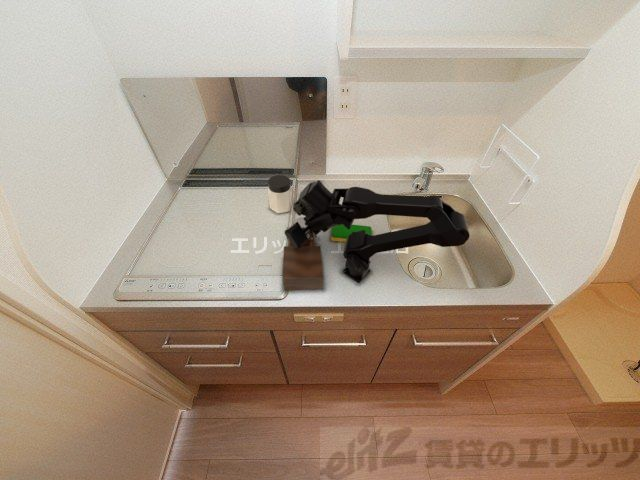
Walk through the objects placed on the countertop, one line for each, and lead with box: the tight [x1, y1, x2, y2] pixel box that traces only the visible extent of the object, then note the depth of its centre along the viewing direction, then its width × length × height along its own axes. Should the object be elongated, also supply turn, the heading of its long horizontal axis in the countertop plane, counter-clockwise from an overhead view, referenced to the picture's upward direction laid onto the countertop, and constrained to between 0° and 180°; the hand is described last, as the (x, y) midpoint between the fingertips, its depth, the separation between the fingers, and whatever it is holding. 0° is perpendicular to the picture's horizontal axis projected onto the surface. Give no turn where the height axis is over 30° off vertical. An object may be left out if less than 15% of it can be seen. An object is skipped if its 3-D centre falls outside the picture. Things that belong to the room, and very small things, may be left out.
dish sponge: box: [330, 224, 372, 243], centre depth 96 cm, size 7×14×2 cm, turn 83°
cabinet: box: [282, 245, 324, 292], centre depth 82 cm, size 12×11×6 cm
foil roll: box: [292, 216, 311, 246], centre depth 86 cm, size 5×5×10 cm
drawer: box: [286, 226, 318, 246], centre depth 90 cm, size 16×10×4 cm, turn 4°
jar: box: [267, 174, 293, 214], centre depth 102 cm, size 9×8×12 cm
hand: (298, 228), depth 86 cm, fingers closed on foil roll, 5 cm apart
